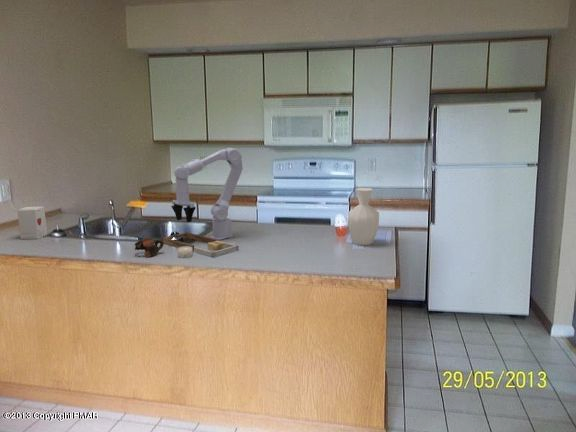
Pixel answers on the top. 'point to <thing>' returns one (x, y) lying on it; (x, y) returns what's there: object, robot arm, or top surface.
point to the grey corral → (228, 249)
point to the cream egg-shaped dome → (185, 252)
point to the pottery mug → (149, 246)
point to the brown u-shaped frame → (190, 236)
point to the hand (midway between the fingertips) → (184, 220)
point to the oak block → (216, 246)
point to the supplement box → (32, 222)
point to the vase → (363, 219)
